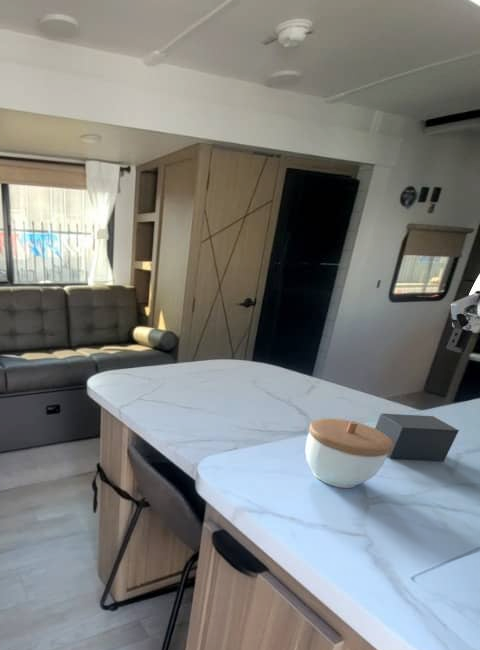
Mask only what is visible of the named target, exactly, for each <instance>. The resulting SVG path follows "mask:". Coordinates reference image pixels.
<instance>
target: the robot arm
mask: <svg viewBox="0 0 480 650" xmlns="http://www.w3.org/2000/svg"><path fill="white" fill-rule="evenodd" d="M450 321H451V327H452V328H453V330H452V333H451V335H450V337H449V340H448V343H447V345H446V347H445V349H447V350H449V351H452V352H456V353H459V354H462V353H464V352H465V351H466V349H467V347H468V344H469V342H470V340H471V337H472V335H473V332H474V331H473V330H471V329H472V328H474V327H475V326H477V324H479V323H480V273H479V274H478V276H477V278H476V279H475V282H474V284H473V286H472V288H471V290H470V292H469V294H468V295H466V296H464V297H461V298H460V299H457V300H455V301H453V302H451V303H450Z"/></svg>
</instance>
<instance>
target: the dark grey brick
mask: <svg viewBox="0 0 480 650" xmlns="http://www.w3.org/2000/svg"><path fill="white" fill-rule="evenodd" d="M374 429H377V430H379V431H381V432H382V433H384V434H386V435H387V436H388V437H389V438H390V439H391V440H392V442H393V446H392V449H391V451H390V452H389V453H388V456H387V458H388V459H389V460H410V461H429V462H445V460H446V459H447V456H448V454H449V452H450V451H451V447H452V446H453V444H454V442H455V440H456V438H457V435H458V434H459V431H460V430H459V429H457V428H455V427H453V426H452V425H450V424H449V423H446V422H445V421H442V420H441V419H439V418H437V417H435V416H434V415H418V414H402V413H401V414H400V413H399V414H398V413H383V412H381V413H380V414H379V417H378V420H377V421H376V425H375V428H374Z"/></svg>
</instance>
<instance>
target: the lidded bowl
mask: <svg viewBox="0 0 480 650" xmlns="http://www.w3.org/2000/svg"><path fill="white" fill-rule="evenodd" d="M392 446H393V442H392V440H391V439H390V438H389V437H388V436H387V435H386V434H384V433H382V432H381V431H379V430H377V429H375V428H374V427H372V426H369V425H367V424H365V423H360V422H357V421H353V420H352V421H351V420H348V419H342V418H332V417H331V418H330V417H329V418H327V417H326V418H318V419H315V420H313V421H312V422H311V423H310V425H309V427H308V434H307V438H306V442H305V451H304V452H305V458H306V462H307V464H308V466H309V468H310V469H311V471H312V474H313V476H314V477H315V478H316V479H317V480H319V481H320V482H322V483H325V484H326V485H329V486H333V487H336V488H341V489H352V488H355V487H356V486H357V485H362V484H364V483H366V482H368V481H369V480H371V479H373V478H374V477H375V476H376V475H377V474H378V472H380V471H381V469H382V468H383V466H384V464H385V462H386V460H387V458H388V457H387V456H388V453H389V452H390V451H391V449H392Z"/></svg>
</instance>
